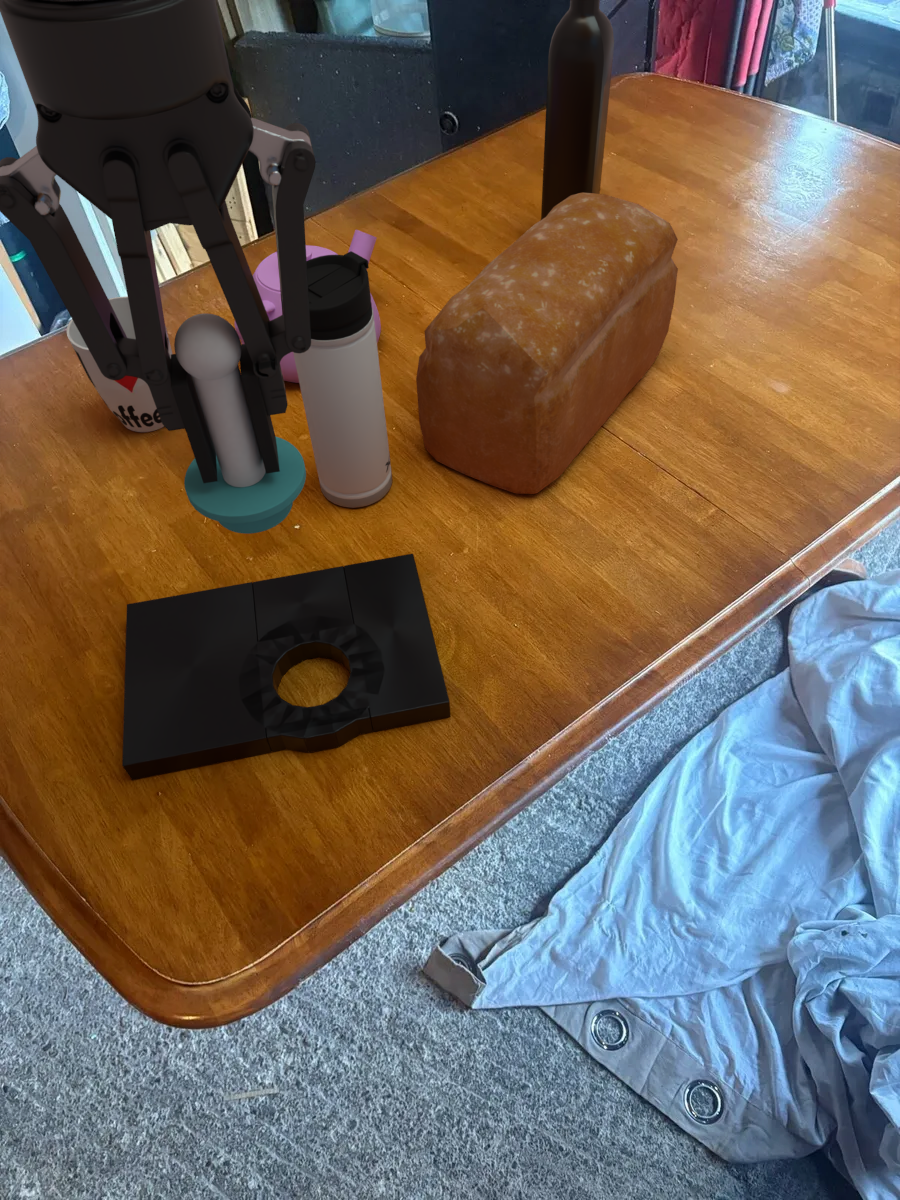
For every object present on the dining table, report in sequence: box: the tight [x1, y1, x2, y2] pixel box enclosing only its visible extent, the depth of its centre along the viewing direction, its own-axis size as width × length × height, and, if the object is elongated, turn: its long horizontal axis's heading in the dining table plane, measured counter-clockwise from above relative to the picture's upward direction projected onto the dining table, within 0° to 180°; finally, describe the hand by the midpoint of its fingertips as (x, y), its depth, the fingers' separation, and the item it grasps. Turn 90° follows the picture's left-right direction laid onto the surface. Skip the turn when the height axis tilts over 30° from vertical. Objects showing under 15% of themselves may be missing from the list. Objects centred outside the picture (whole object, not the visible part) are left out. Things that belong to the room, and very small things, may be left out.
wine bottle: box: [540, 0, 615, 220], centre depth 90 cm, size 6×6×30 cm
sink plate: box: [121, 553, 451, 781], centre depth 64 cm, size 22×15×2 cm, turn 102°
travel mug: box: [293, 251, 393, 509], centre depth 70 cm, size 6×7×20 cm
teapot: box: [234, 229, 382, 384], centre depth 86 cm, size 14×20×11 cm
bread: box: [415, 193, 679, 495], centre depth 78 cm, size 14×26×16 cm, turn 147°
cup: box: [66, 296, 174, 433], centre depth 80 cm, size 8×8×10 cm
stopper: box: [173, 312, 307, 535], centre depth 48 cm, size 7×7×13 cm
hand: (240, 460), depth 50 cm, fingers closed on stopper, 3 cm apart
